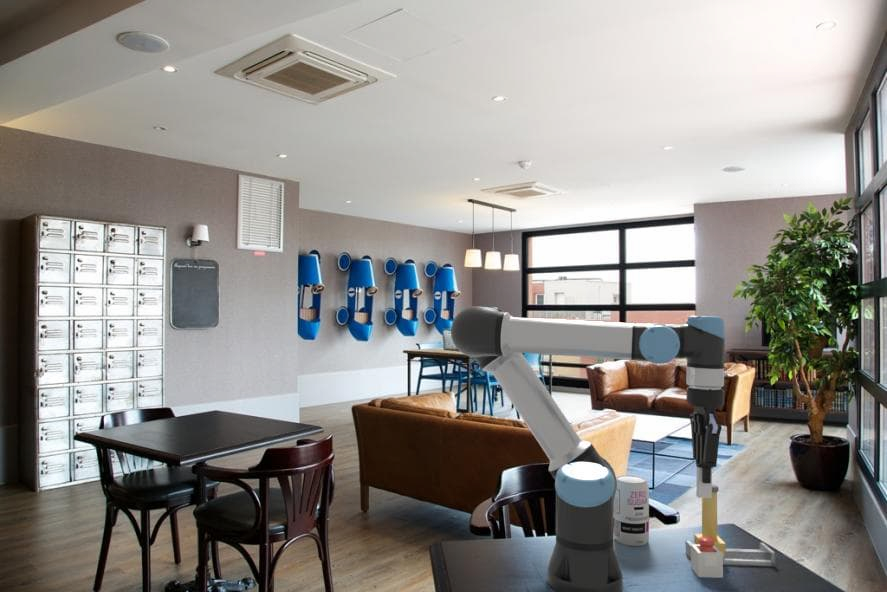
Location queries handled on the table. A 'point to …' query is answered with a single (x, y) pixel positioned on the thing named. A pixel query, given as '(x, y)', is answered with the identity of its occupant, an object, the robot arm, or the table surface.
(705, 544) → the button
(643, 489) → the supplement can
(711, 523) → the sliding lever handle
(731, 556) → the rail
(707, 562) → the white button housing
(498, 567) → the table surface
